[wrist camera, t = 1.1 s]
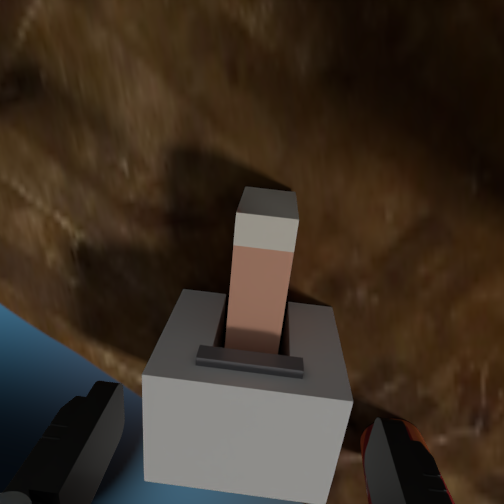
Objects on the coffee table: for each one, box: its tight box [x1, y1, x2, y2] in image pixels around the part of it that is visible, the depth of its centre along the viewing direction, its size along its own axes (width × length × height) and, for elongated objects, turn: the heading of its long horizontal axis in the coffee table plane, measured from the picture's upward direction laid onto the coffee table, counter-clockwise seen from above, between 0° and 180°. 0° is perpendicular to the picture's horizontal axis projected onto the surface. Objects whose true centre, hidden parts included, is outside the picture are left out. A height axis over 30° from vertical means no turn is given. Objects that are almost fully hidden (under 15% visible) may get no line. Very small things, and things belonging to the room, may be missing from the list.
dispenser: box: [142, 289, 353, 504], centre depth 28 cm, size 12×10×10 cm
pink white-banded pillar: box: [225, 186, 299, 355], centre depth 27 cm, size 4×16×6 cm, turn 174°
